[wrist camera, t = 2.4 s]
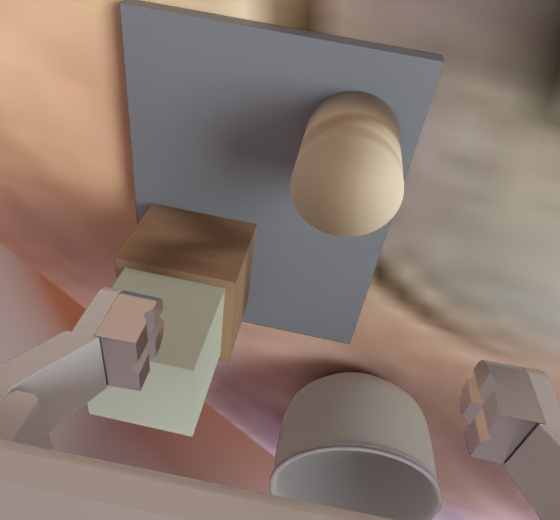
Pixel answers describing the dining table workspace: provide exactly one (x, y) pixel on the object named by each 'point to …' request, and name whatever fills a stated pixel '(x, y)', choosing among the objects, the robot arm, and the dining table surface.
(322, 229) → the beech cylinder
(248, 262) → the walnut base block
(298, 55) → the slate board
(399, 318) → the dining table surface
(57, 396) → the robot arm
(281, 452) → the teacup
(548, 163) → the dining table surface
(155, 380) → the sage top block
